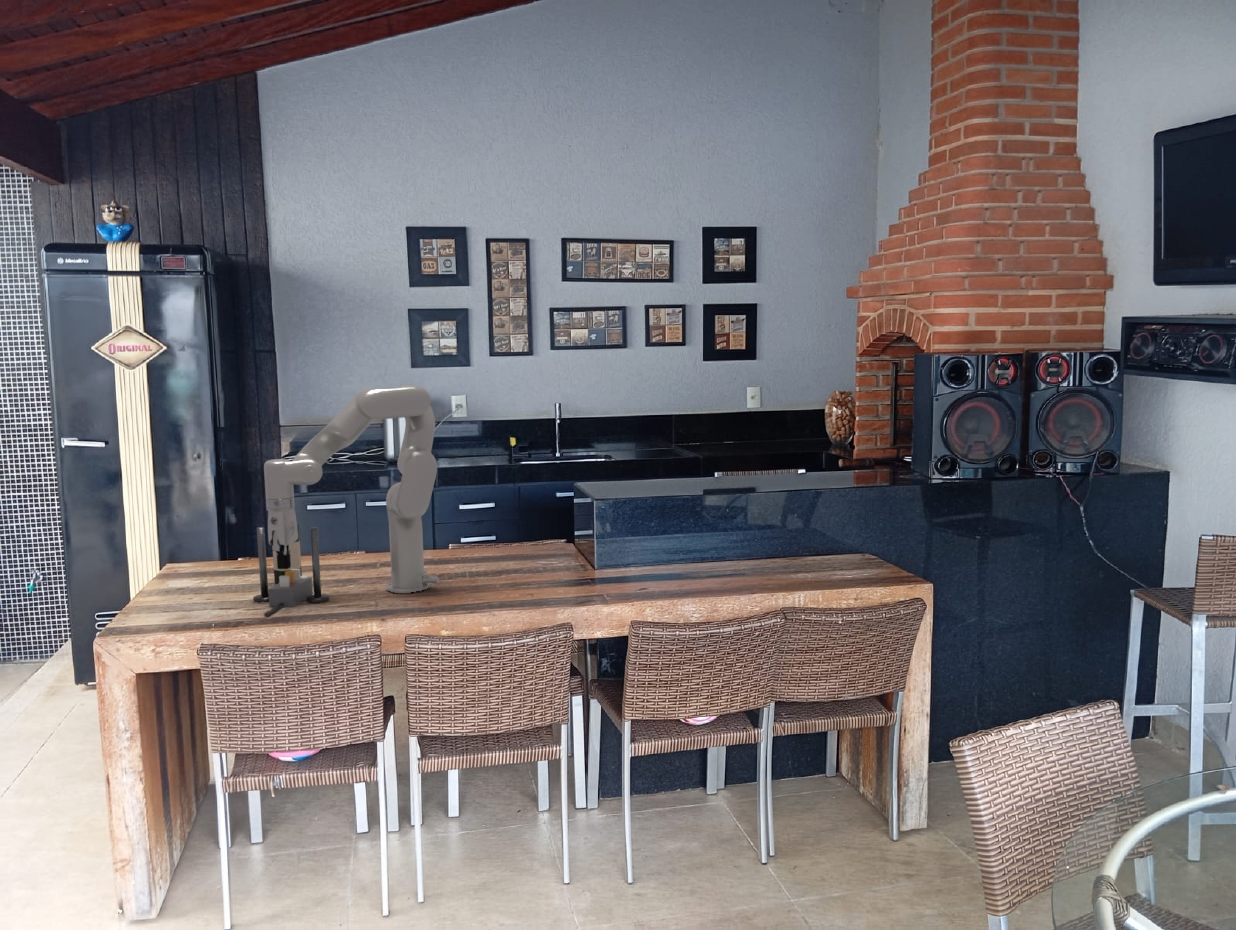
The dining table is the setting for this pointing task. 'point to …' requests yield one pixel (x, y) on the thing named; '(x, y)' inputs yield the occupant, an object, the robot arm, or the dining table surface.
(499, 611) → the dining table surface
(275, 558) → the wine bottle
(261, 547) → the post
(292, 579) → the breaker paddle
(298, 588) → the grey power strip
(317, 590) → the post
